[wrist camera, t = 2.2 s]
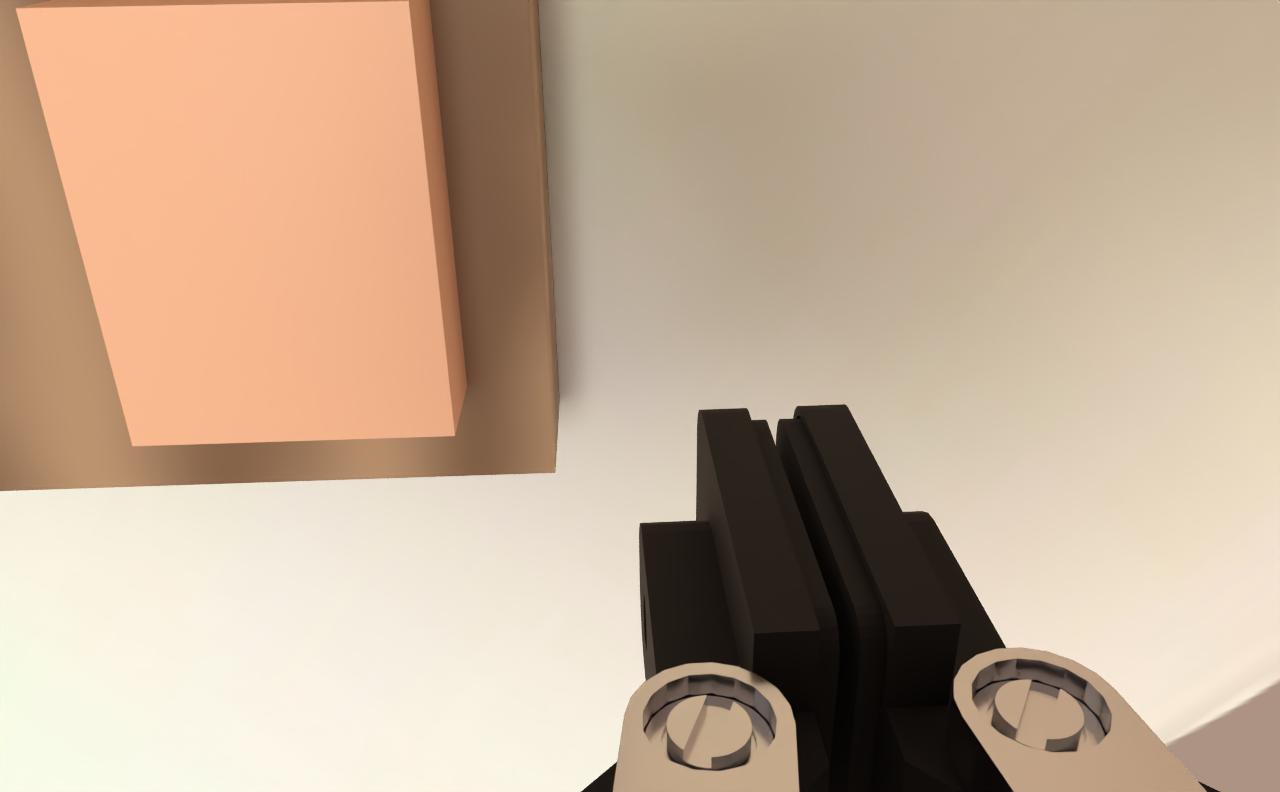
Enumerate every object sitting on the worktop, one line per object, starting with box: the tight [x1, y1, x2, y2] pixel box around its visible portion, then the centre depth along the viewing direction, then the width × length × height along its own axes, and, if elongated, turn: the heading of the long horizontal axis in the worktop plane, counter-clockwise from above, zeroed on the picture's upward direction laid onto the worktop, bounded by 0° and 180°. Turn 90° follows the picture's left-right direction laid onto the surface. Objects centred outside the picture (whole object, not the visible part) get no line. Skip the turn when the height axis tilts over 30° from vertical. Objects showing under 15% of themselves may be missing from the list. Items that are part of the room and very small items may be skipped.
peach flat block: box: [16, 0, 467, 446], centre depth 22 cm, size 7×9×2 cm
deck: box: [0, 0, 560, 491], centre depth 25 cm, size 16×14×4 cm
